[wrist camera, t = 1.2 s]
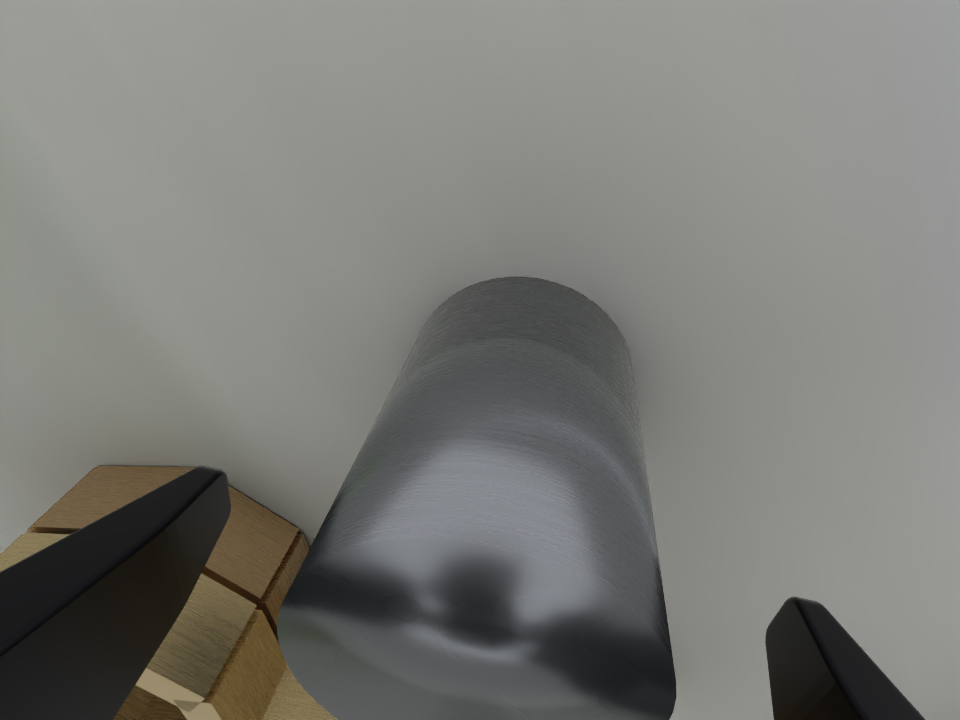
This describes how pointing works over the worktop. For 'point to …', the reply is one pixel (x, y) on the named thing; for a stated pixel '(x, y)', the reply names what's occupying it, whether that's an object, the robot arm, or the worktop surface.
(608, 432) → the hinge pin
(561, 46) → the worktop surface
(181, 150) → the worktop surface
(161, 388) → the worktop surface
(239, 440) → the worktop surface
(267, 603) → the hinge
